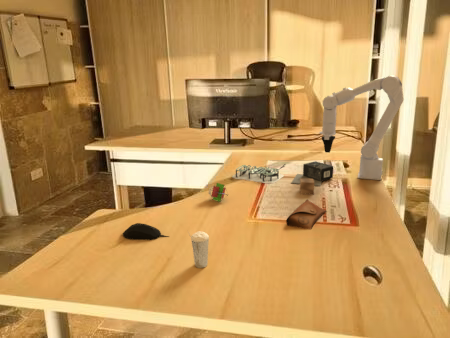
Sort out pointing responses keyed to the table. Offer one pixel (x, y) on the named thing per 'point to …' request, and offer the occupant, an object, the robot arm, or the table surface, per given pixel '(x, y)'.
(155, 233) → the gaming mouse
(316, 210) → the sunglasses case
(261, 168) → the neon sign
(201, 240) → the milkshake
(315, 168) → the box
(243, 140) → the table surface
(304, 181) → the walnut block
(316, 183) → the mat
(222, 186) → the geometric puzzle
